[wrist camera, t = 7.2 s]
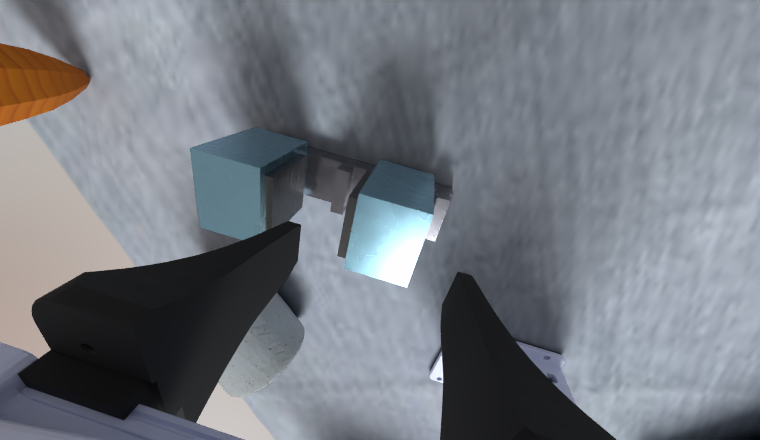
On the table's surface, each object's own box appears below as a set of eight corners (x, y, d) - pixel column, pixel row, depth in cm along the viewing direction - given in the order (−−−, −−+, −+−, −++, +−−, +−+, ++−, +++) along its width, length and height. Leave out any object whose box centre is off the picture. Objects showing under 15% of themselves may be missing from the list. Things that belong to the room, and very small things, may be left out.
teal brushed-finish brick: (434, 174, 17) (433, 215, 12) (414, 234, 19) (406, 287, 15) (372, 157, 17) (348, 190, 13) (359, 218, 20) (334, 265, 15)
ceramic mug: (267, 250, 24) (202, 319, 18) (318, 316, 27) (278, 396, 20) (192, 280, 28) (116, 345, 22) (243, 335, 31) (190, 407, 24)
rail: (456, 177, 18) (465, 227, 12) (434, 233, 21) (433, 297, 15) (262, 122, 19) (185, 146, 13) (261, 182, 21) (195, 226, 15)
